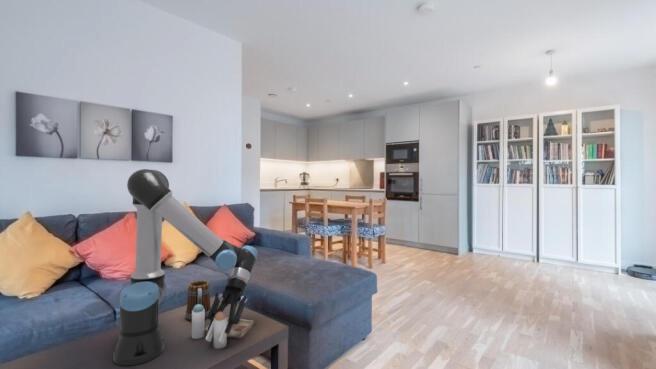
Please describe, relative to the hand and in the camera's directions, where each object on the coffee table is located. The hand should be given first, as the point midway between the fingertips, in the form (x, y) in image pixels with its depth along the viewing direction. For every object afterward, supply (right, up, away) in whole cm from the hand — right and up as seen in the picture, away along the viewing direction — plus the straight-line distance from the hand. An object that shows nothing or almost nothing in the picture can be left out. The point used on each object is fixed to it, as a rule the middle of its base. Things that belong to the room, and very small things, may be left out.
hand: (214, 341), depth 112 cm
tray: (+1, -3, +16) cm, 16 cm away
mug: (-16, -3, +25) cm, 30 cm away
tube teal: (-10, -3, +10) cm, 15 cm away
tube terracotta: (+1, -3, +4) cm, 5 cm away
